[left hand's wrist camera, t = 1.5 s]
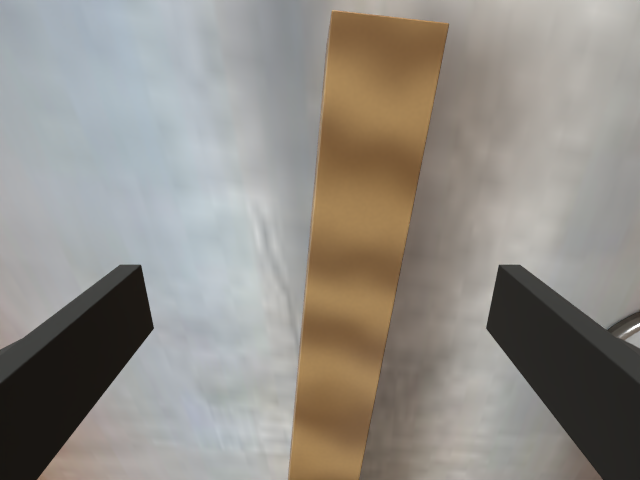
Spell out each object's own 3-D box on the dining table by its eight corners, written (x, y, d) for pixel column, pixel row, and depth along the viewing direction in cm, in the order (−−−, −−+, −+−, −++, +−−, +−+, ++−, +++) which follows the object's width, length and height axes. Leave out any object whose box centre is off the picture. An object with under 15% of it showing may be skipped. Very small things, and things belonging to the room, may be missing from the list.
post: (326, 43, 24) (331, 9, 16) (405, 52, 24) (449, 22, 16) (275, 619, 50) (267, 715, 42) (312, 621, 50) (312, 716, 42)
